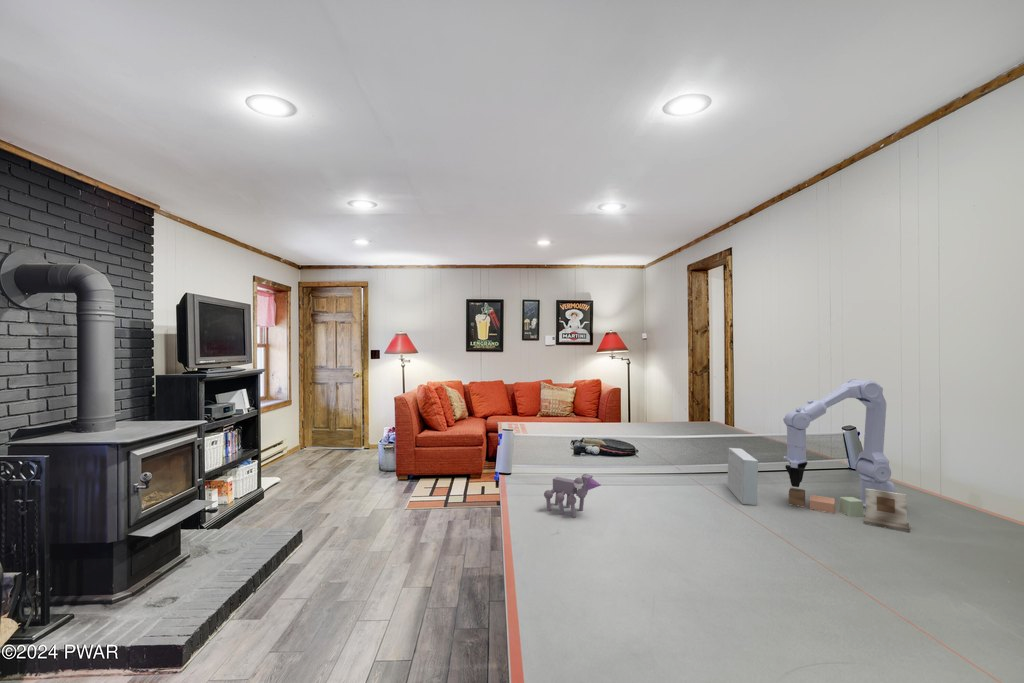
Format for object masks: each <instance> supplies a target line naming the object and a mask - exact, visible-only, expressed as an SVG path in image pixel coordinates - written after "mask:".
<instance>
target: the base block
mask: <svg viewBox="0 0 1024 683" xmlns="http://www.w3.org/2000/svg"><path fill="white" fill-rule="evenodd" d="M810 509H814V510H813V511H815V510H820V511H819V512H821V511H826V512H825V513H827V512H831V513H830V514H833V513H835V512H836V511H835V510H836V499H835V498H834V497H827V496H821V495H815V494H810V497H809V510H810Z"/></svg>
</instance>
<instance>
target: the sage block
mask: <svg viewBox="0 0 1024 683" xmlns="http://www.w3.org/2000/svg"><path fill="white" fill-rule="evenodd" d="M859 499H860V498H857V497H854V496H840V497H839V512H840V511H841V512H843V513H842V514H844V513H845V514H844V515H846V514H847V515H846V516H848V515H849V516H848V517H850V516H856V517H864V506H863V501H861V500H859ZM841 512H840V513H841Z"/></svg>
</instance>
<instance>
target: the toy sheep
mask: <svg viewBox="0 0 1024 683" xmlns="http://www.w3.org/2000/svg"><path fill="white" fill-rule="evenodd" d="M601 486H602V484H601V483H599V482H597V481H596V480H595V479H594V478H593V475H592V474H588V473H583V474H582V475H581V477H576V478H575V479H572V478H564V477H561V476H560V477H559V476H556V477H554V478H552V489H551V490H550V489H547V490H545V491H544V493H543V497H544V498H545V500H546V501H545V502H546V510H547V512H551V511H552V504H551V499H552V498H553V495H554V494H555V497H554V498H555V499H554V500H555V501H554V505H556V506H558V507H559V508H558V509H559V515H561V516H562V515H564V514H565V512H564V511H565V510H564V501H565V495H566V504H565V507H566V508H570V513H571V518H572V519H573V518H576V517H577V516H576V506H575V504H576V503H577V498H576V496H577V497H578V498H579V508H578V510H579V511H581V512H582V511H583V512H584V503H585V498H586V496H587V495H588V492H589V491H591V490H593V489H594V488H595V489H596V488H597V487H598V488H599V487H601Z"/></svg>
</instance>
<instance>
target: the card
mask: <svg viewBox="0 0 1024 683" xmlns="http://www.w3.org/2000/svg"><path fill="white" fill-rule="evenodd" d="M907 503H908V502H907V494H905V493H897V492H896V493H893V492H886V491H879V490H873V489H866V507H865V514H863V524H864V523H866V524H865V525H868V524H871V525H870V526H873V525H876V526H875V527H878V526H881V527H880V528H884V527H886V528H885V529H889V528H890V530H894V529H895V530H896V531H899V530H900V531H901V532H905V533H910V531H911V530H910V529H911V528H910V524H909V522H908V519H907V518H908V517H907V516H908V515H907V514H908V513H907V512H908V511H907V510H908V508H907V507H908V506H907V505H908V504H907ZM895 530H894V531H895ZM900 531H899V532H900Z"/></svg>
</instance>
